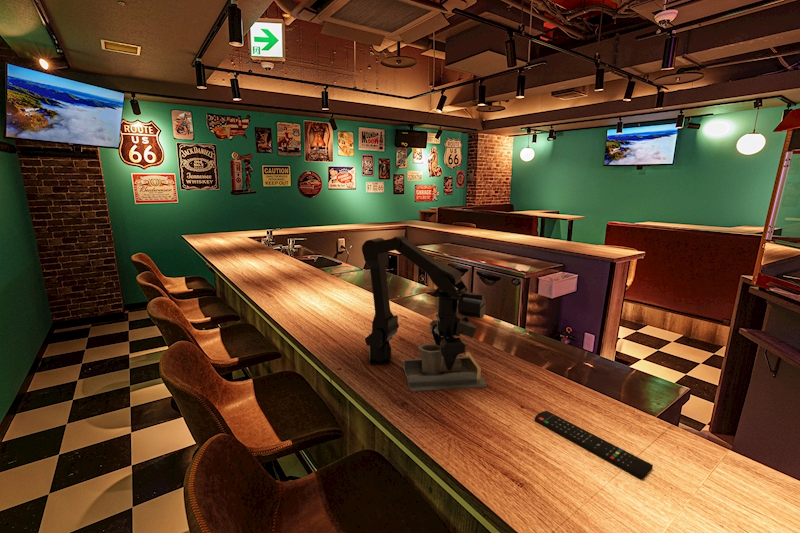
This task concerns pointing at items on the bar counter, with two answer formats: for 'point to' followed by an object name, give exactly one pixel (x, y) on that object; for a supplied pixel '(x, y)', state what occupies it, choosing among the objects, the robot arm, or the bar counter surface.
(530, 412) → the bar counter surface
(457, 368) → the pipe
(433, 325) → the robot arm
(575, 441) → the remote control
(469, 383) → the pipe cradle
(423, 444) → the bar counter surface
